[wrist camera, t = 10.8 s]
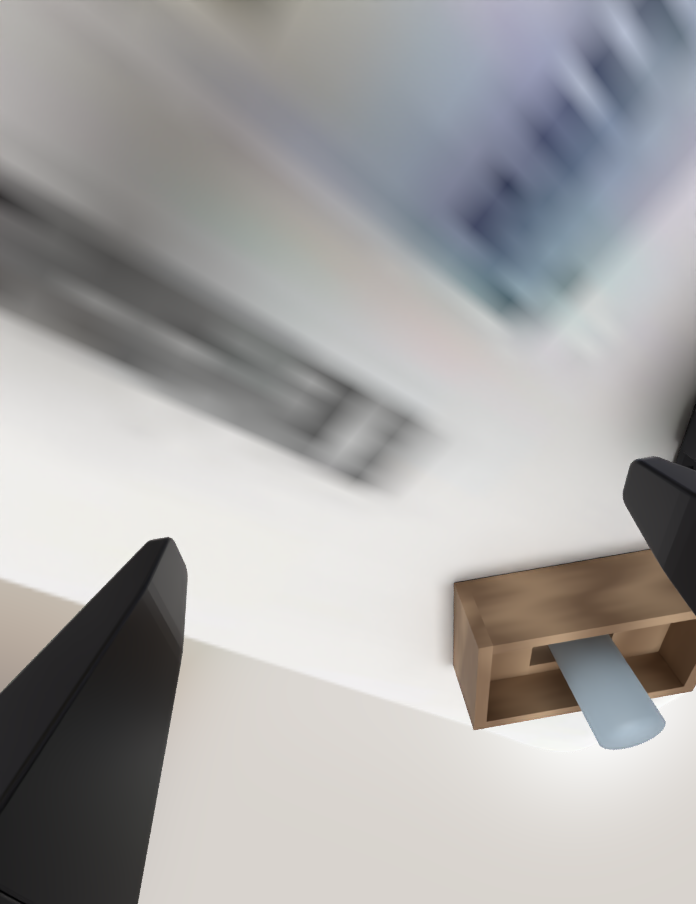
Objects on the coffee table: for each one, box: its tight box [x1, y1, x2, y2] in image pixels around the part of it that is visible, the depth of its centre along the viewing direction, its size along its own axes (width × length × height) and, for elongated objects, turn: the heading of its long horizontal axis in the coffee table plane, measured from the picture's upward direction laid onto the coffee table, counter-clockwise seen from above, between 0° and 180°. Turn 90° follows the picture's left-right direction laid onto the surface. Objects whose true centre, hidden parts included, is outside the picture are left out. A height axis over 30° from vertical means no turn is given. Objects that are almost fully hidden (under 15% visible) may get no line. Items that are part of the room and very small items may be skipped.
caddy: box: [453, 549, 696, 730], centre depth 30 cm, size 15×9×4 cm, turn 97°
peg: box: [548, 634, 665, 750], centre depth 28 cm, size 4×4×8 cm
